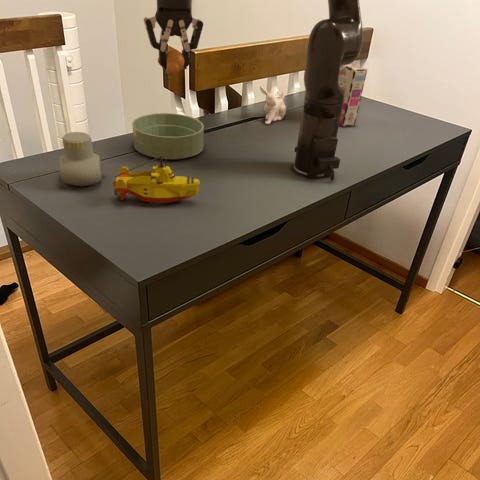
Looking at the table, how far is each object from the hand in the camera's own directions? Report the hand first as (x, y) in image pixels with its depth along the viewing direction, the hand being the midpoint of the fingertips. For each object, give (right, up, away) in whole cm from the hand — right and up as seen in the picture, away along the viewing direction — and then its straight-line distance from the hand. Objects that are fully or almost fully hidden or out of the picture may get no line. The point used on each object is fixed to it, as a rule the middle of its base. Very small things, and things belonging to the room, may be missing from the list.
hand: (174, 67), depth 114 cm
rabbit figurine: (+26, +3, +36) cm, 45 cm away
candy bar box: (+48, +3, +39) cm, 62 cm away
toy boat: (-2, -36, -12) cm, 38 cm away
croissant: (0, 0, 0) cm, 1 cm away
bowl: (-3, -15, +11) cm, 19 cm away
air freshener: (-20, -30, -8) cm, 37 cm away
